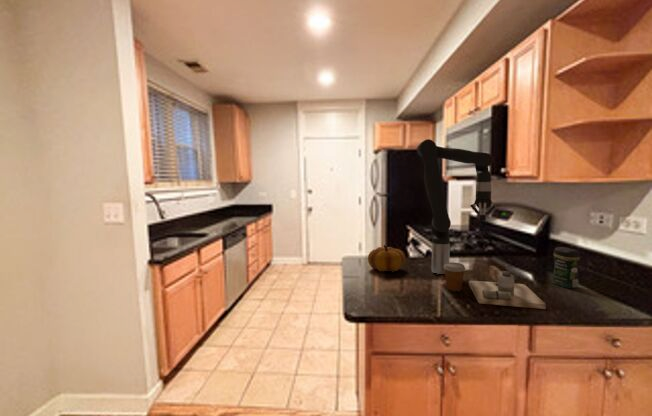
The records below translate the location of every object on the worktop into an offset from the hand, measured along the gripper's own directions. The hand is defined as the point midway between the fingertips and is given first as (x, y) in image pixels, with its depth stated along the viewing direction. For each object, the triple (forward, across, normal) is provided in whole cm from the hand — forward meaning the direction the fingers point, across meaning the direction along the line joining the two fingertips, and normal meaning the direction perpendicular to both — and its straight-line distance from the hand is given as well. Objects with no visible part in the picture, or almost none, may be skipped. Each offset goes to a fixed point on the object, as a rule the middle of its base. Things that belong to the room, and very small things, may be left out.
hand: (482, 221), depth 162 cm
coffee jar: (+29, +36, -1) cm, 47 cm away
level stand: (+29, +14, -31) cm, 45 cm away
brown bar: (+27, +12, -29) cm, 41 cm away
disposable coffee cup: (+29, -6, -35) cm, 46 cm away
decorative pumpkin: (+29, -47, -23) cm, 60 cm away
